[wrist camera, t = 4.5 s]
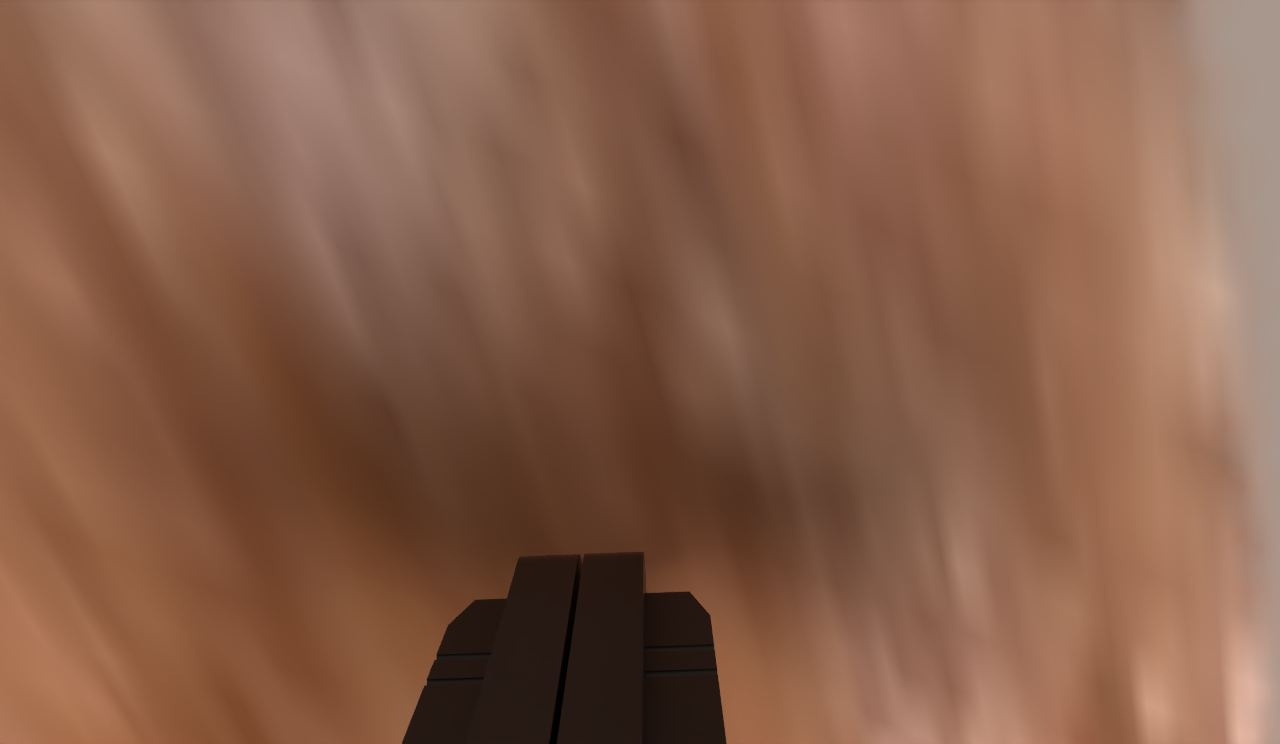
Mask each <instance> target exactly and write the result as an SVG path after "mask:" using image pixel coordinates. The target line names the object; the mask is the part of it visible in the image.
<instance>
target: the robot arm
mask: <svg viewBox="0 0 1280 744" xmlns="http://www.w3.org/2000/svg"><path fill="white" fill-rule="evenodd" d="M402 744H726V736H725V728H724V720H723V713H722V705H721V697H720V689H719V681H718V675H717V665H716V658H715V650H714V642H713V634H712V626H711V618H710V615H709V613H708V612H707V611H706V610H705V609H704V608H703V607H702V606H701V604H700V603H699V602H698V601H697V600H696V599H695V598H694V596H693V595H692V594H691V593H690V592H666V593H646V576H645V559H644V552H626V553H600V554H584V558H583V564H582V560H581V556H580V555H554V556H528V557H520V558H519V559H518V562H517V566H516V569H515V572H514V576H513V579H512V583H511V586H510V590H509V593H508V597H507V599H485V600H475V601H474V602H472V603H471V604H470V605H469V606H468V607H467V608H466V609H465V610H464V611H463V612H462V613H461V614H460V615H459V616H457V617H456V618H455V619H454V620H453V621H452V622H451V623H450V624H449V625H448V627H447V629H446V632H445V634H444V637H443V640H442V642H441V645H440V647H439V650H438V652H437V660H434V663H433V665H432V668H431V670H430V673H429V675H428V678H427V686H424V688H423V691H422V693H421V696H420V698H419V701H418V704H417V706H416V709H415V711H414V714H413V716H412V719H411V722H410V724H409V727H408V729H407V732H406V734H405V737H404V739H403V742H402Z"/></svg>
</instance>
